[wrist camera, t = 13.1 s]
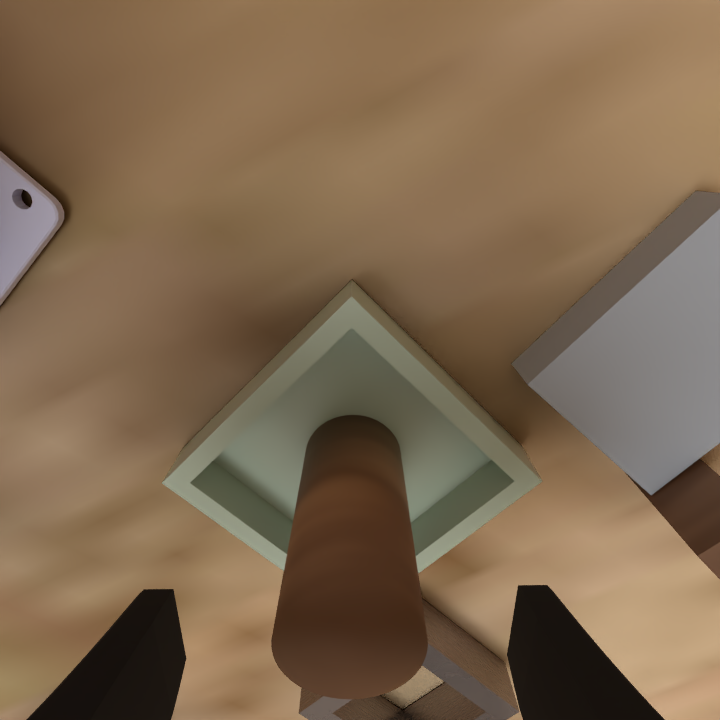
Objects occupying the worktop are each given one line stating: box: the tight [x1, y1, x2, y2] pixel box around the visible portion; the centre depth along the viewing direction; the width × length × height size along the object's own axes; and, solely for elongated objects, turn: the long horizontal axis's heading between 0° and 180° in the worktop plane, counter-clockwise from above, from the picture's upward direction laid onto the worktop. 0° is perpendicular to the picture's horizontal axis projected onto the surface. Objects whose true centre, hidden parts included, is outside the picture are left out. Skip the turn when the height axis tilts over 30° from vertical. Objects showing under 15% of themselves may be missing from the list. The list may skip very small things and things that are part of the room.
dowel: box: [272, 415, 428, 699], centre depth 13 cm, size 3×3×7 cm
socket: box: [299, 599, 519, 720], centre depth 20 cm, size 6×6×2 cm
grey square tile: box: [511, 191, 720, 495], centre depth 15 cm, size 6×7×2 cm
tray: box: [162, 280, 542, 573], centre depth 16 cm, size 8×8×2 cm
